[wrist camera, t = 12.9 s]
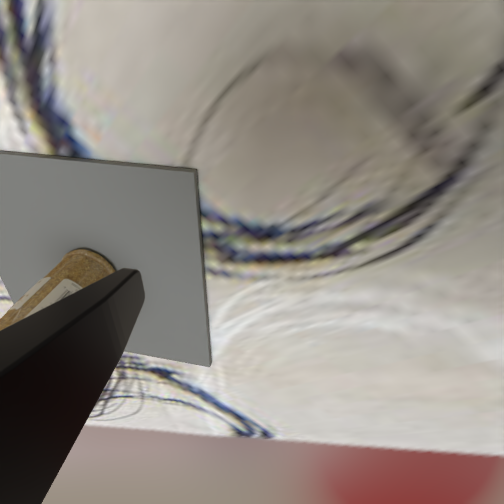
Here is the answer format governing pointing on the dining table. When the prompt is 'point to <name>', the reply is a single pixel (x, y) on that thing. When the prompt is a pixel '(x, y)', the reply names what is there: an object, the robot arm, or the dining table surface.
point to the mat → (112, 238)
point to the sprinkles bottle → (59, 284)
